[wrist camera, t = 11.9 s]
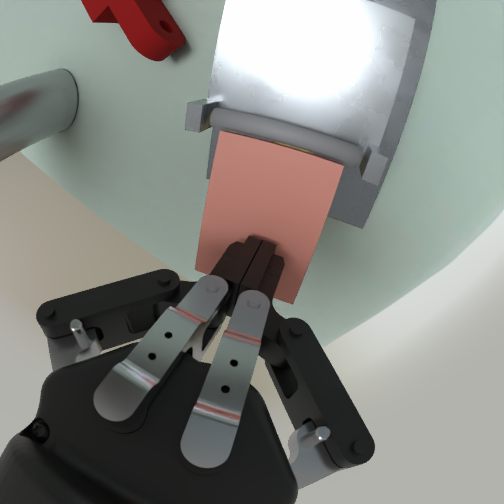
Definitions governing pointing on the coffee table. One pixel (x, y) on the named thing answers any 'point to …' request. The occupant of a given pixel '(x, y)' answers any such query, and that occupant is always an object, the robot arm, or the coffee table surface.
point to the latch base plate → (323, 78)
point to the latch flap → (270, 191)
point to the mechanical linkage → (140, 24)
